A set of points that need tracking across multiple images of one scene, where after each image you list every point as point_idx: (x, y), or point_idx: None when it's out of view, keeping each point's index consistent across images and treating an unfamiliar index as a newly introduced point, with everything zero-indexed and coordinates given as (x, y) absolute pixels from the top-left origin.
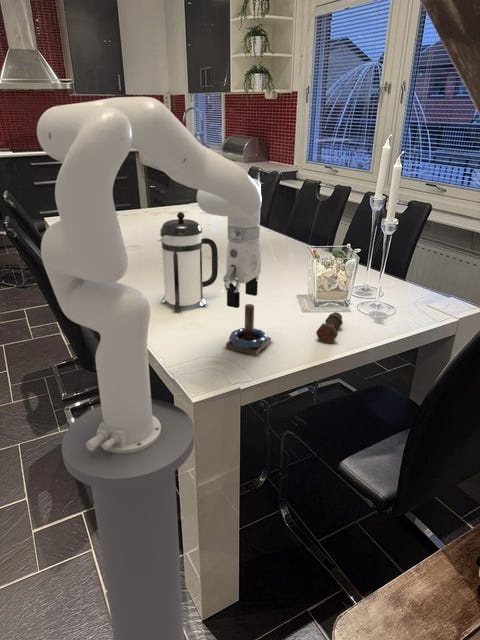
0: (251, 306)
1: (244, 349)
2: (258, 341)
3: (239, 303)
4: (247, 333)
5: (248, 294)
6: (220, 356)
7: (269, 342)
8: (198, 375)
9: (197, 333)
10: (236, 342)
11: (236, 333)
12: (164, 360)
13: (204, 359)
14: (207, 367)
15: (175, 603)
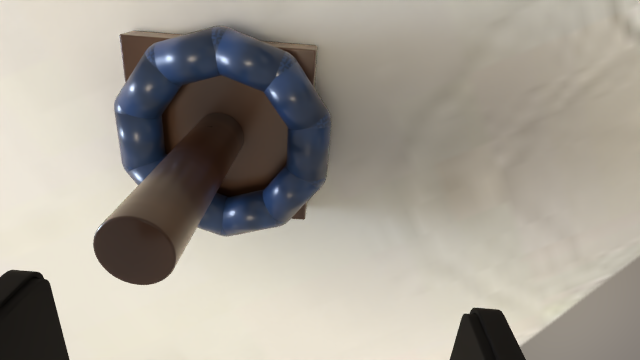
0: (138, 233)
1: None
2: (272, 61)
3: (490, 339)
4: (232, 154)
5: (59, 343)
6: (389, 197)
7: (148, 33)
8: (583, 208)
9: (235, 347)
10: (325, 172)
11: (234, 210)
12: None
13: (439, 242)
14: (505, 204)
15: None
